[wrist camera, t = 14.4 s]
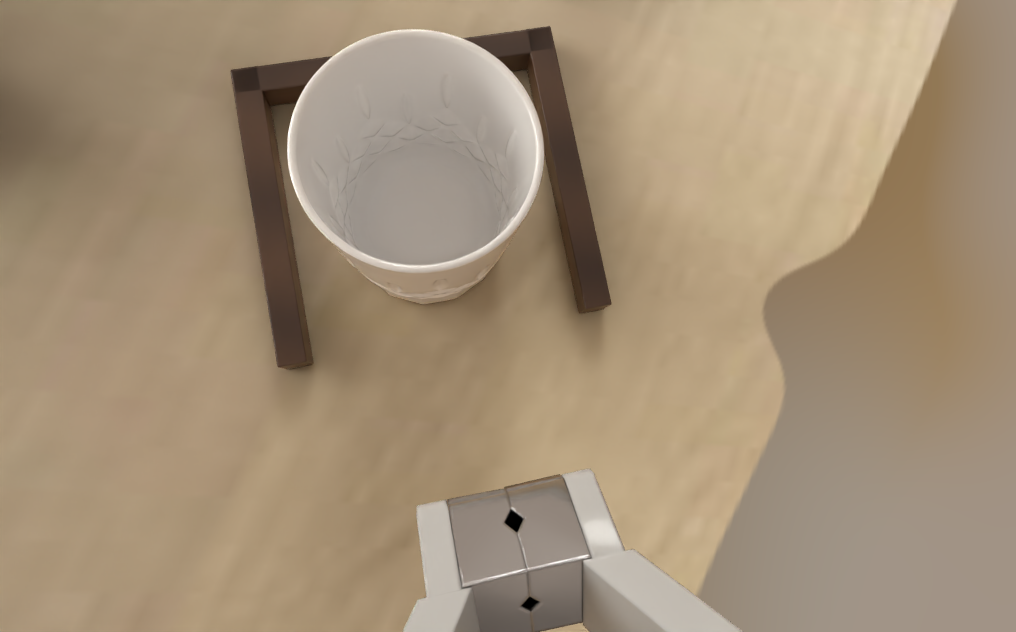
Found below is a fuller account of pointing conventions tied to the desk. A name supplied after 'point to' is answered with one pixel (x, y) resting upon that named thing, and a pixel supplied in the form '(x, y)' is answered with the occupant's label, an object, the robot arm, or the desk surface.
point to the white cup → (416, 160)
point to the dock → (270, 206)
